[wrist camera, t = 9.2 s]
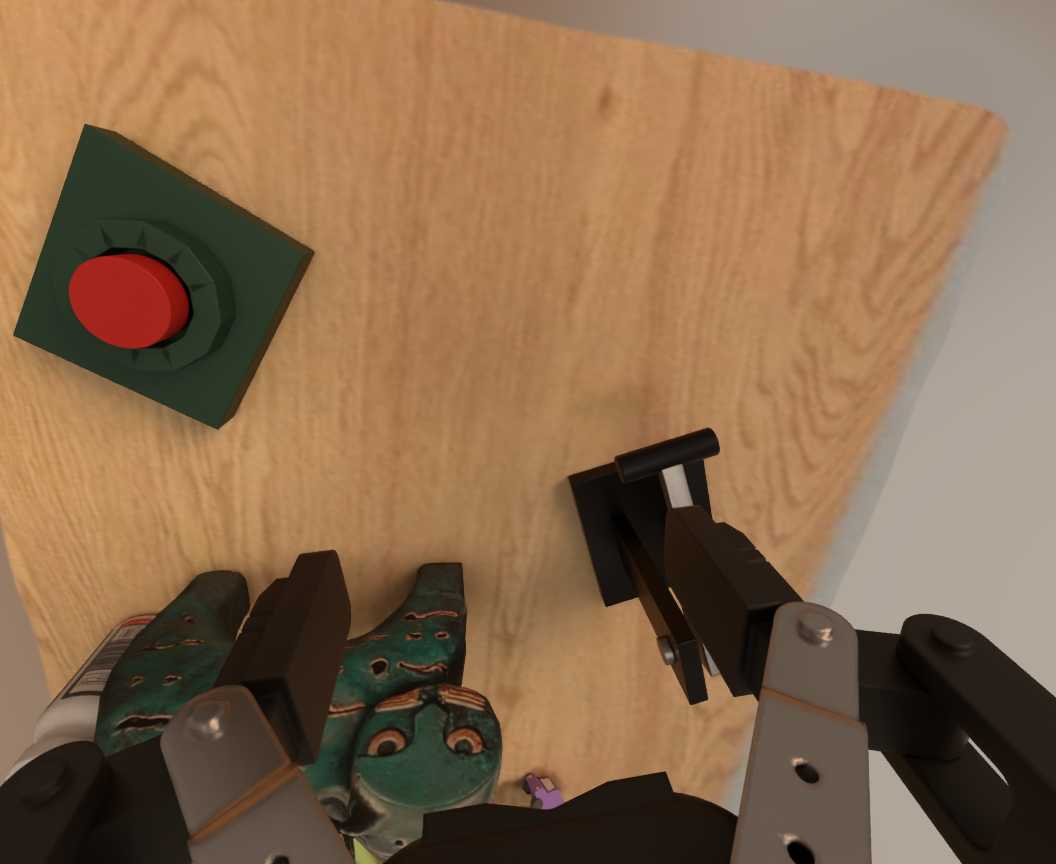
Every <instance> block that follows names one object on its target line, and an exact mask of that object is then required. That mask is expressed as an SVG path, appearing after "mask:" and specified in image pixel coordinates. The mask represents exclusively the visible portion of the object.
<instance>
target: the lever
mask: <svg viewBox="0 0 1056 864" xmlns="http://www.w3.org/2000/svg"><path fill="white" fill-rule="evenodd" d="M719 452H720V447H719V442H718V439H717V436H716V434H715V433H714V431H713V430H712V429H711V428H705V429H702V430H698V431H695V432H692V433H689V434H686V435H682V436H679V437H676V438H673V439H670V440H666V441H663V442H660V443H657V444H654V445H650V446H647V447H644V448H641V449H637V450H634V451H631V452H628V453H625V454H621V455H618V456H616V457H615V458H614V461H615V466H616V470H617V473H618V475H619V478H620V480H621V481H622V483H624V484H625V483H629V482H632V481H635V480H638V479H641V478H645V477H648V476H651V475H654V474H658V476H659V479H660V483H661V487H662V490H663V494H664V497H665V501H666V504H667V508H668V509H670V508H677V507H685V506H693V502H692V498H691V495H690V491H689V487H688V484H687V480H686V476H685V473H684V469H683V465H686V464H690V463H693V462H696V461H699V460H702V459H706V458H709V457H712V456H715V455H718V454H719ZM682 610H683V614H684V617H685V619H686V621H687V622H688V624H689V626H690V627H691V629H692V631H693V633H694V634H695V636H696V638H697V641H698V647H699V652H700V657H701V662H702V664H703V665H704V667H705V668H706V670H707V671H708V673H709V674H710V676H711V677H713V676H716V675H720V672H719V670H718V669H717V667H716V665H715V663H714V662H713V660H712V658H711V656H710V655H709V653H708V651H707V649H706V648H705V646H704V644H703V642H702V641H701V639H700V637H699V635H698V634H697V632H696V630H695V629H694V627H693V625H692V623H691V622H690V620H689V618H688V616H687V615H686V613H685V611H684V609H683V608H682Z"/></svg>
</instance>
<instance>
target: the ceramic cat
mask: <svg viewBox="0 0 1056 864" xmlns="http://www.w3.org/2000/svg"><path fill="white" fill-rule="evenodd" d="M249 609H250V598H249V593H248V587H247V582H246V579H245V578H244V577H243V576H242V575H241V574H240V573H239V572H232V571H213V572H207V573H203V574H200V575H198V576H197V577H196V578H195V579H194V580H193V581H192V582H191V583H190V584H189V585H188V586H187V587H186V588H185V590H184V591H183V592H182V593H181V594H180V595H179V596H178V597H177V598H176V599H175V600H174V601H172V602H171V603H170V604H169V605H168V606H167V607H166V608H165V609H163V610H162V611H161V612H160V613H159V614H158V615H157V616H156V617H155V618H154V619H153V620H152V621H151V622H150V623H149V624H148V625H147V626H146V627H145V628H143V629H142V630H141V631H140V632H139V633H138V634H137V635H136V636H135V638H134V639H133V640H132V642H131V643H130V645H129V646H128V648H127V649H126V650H125V652H124V653H123V654H122V656H121V657H120V659H119V660H118V661H117V663H116V664H115V666H114V667H113V669H112V670H111V672H110V674H109V677H108V679H107V681H106V684H105V686H104V688H103V691H102V693H101V695H100V698H99V707H98V715H97V721H96V728H95V734H94V739H93V742H94V743H96V744H97V745H98V746H99V747H100V748H101V750H102V752H103V753H104V755H105V757H106V756H109V755H111V754H114V753H116V752H119V751H121V750H124V749H126V748H129V747H131V746H134V745H136V744H139V743H141V742H144V741H146V740H149V739H151V738H154V737H156V736H158V735H160V734H162V733H163V730H164V728H165V727H166V725H167V723H168V722H169V720H170V719H171V718H172V717H173V715H174V714H175V713H176V712H177V711H178V710H179V709H180V708H181V707H182V706H184V705H185V704H186V703H187V702H189V701H190V700H192V699H193V698H195V697H196V696H198V695H200V694H202V693H204V692H205V691H208V690H210V689H211V688H212V686H213V685H214V683H215V681H216V679H217V677H218V675H219V673H220V671H221V669H222V667H223V665H224V663H225V661H226V659H227V657H228V655H229V653H230V652H231V650H232V648H233V646H234V644H235V642H236V636H237V633H238V630H239V628H240V626H241V624H242V622H243V620H244V618H245V616H246V614H247V613H248V611H249ZM466 619H467V607H466V603H465V597H464V585H463V571H462V563H430V564H425V565H423V566H422V567H421V568H420V570H419V571H418V575H417V579H416V582H415V585H414V587H413V589H412V590H411V592H410V594H409V596H408V597H407V599H406V600H405V601H404V603H403V604H402V605H401V606H400V607H399V608H398V609H397V610H396V611H394V612H393V613H392V614H391V615H390V616H389V617H388V618H387V619H386V620H385V621H383V622H382V623H381V624H380V625H379V626H377V627H376V628H375V629H373V630H372V631H370V632H369V633H367V634H365V635H363V636H360V637H357V638H354V639H351V640H347V642H346V646H345V650H344V654H343V658H342V662H341V666H340V670H339V674H338V677H337V681H336V685H335V689H334V693H333V697H332V701H331V705H330V709H329V713H328V717H327V721H326V724H325V728H324V732H323V736H322V740H321V744H320V748H319V752H318V756H317V760H316V764H310V765H304V766H299V767H300V769H301V770H302V772H303V774H304V775H305V777H306V779H307V781H308V782H309V784H310V786H311V787H312V789H313V791H314V792H315V794H316V796H317V798H318V799H319V801H320V803H321V804H322V806H323V808H324V810H325V811H326V813H327V815H328V816H329V818H330V820H331V822H332V823H333V825H334V827H335V828H336V830H337V832H338V833H339V834H342V836H343V838H344V841H345V845H346V847H347V849H348V851H349V852H350V854H351V856H352V857H353V859H354V861H355V848H354V841H353V839H354V838H355V839H356V840H357V841H358V842H359V843H360V844H361V845H362V846H363V847H364V848H365V849H366V850H367V851H368V852H369V853H371V854H372V855H373V856H374V857H376V858H377V859H378V860H380V861H382V862H385V861H386V860H387V859H389V858H390V857H391V856H392V855H394V854H395V853H396V852H397V851H399V850H400V849H402V848H403V847H405V846H407V845H408V844H410V843H411V842H413V841H415V840H417V839H419V838H421V837H422V829H423V814H425V813H431V812H437V811H443V810H448V809H454V808H460V807H465V806H471V805H477V804H482V803H489V804H492V803H493V800H494V796H495V792H496V788H497V784H498V779H499V774H500V769H501V760H502V737H501V729H500V723H499V721H498V719H497V717H496V715H495V713H494V711H493V709H492V707H491V705H490V702H489V701H488V700H487V698H486V697H485V696H483V695H481V694H480V693H478V692H476V691H474V690H471V689H468V688H464V687H461V685H462V678H463V671H464V664H465V656H466V640H465V635H466Z"/></svg>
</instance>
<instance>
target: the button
mask: <svg viewBox="0 0 1056 864" xmlns="http://www.w3.org/2000/svg"><path fill="white" fill-rule="evenodd" d="M69 297H70V302H71V305H72V308H73V310H74V312H75V314H76V316H77V317H78V319H79V320H80V322H81V323H82V324H83V325H84V326H85V327H86V329H87V330H88V331H90V332H91V333H92V334H93V335H95V336H96V337H98V338H99V339H101V340H103V341H105V342H107V343H109V344H111V345H114V346H118V347H122V348H129V349H139V348H145V347H148V346H151V345H153V344H156V343H158V342H161V341H163V340H165V339H168V338H170V337H172V336H174V335H175V334H177V333H178V332H179V331H180V330H181V329H182V328H183V326H184V325H185V323H186V321H187V318H188V313H189V303H188V298H187V294H186V292H185V289H184V287H183V285H182V284H181V282H180V281H179V279H178V278H177V277H176V276H175V275H174V273H173V272H171V271H170V270H169V269H168V268H167V267H165V266H164V265H163V264H161V263H160V262H158V261H156V260H154V259H152V258H149V257H146V256H143V255H138V254H120V255H110V256H101V257H96V258H93V259H90V260H88V261H86V262H84V263H83V264H81V265H80V266H79V267H78V268H77V269H76V271H75V272H74V274H73V276H72V278H71V281H70V284H69Z"/></svg>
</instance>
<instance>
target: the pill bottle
mask: <svg viewBox="0 0 1056 864" xmlns="http://www.w3.org/2000/svg"><path fill="white" fill-rule="evenodd" d="M155 617H156V616H155V615H145V616H138V617H134V618H131V619H128V620H126V621H124V622H122V623H120V624H119V625H118V626H116V627H115V628H114V629H113V630H112V631H111V632H110V633H109V634H108V635H107V637H106V638H105V639H104V640H103V642H102V643H101V644H100V645H99V646H98V648H97V649H96V650H95V651H94V652H93V654H92V655H91V656H90V657H89V658H88V660H87V661H86V662H85V663H84V664H83V666H82V667H81V668H80V669H79V670H78V672H77V673H76V674H75V675H74V676H73V678H72V679H71V680H70V681H69V682H68V684H67V685H66V686H65V687H64V688H63V690H62V691H61V692H60V693H59V694H58V695H57V697H56V698H55V699H54V700H53V701H52V703H51V704H50V705H49V706H48V707H47V709H46V710H45V711H44V712H43V714H42V715H41V716H40V718H39V719H38V721H37V723H36V725H35V727H34V730H33V735H32V743H33V745H31V746H30V747H29V748H27V749H26V751H25V752H24V753H23V754H22V756H21V757H20V758H19V759H18V760H17V762H16V763H15V764H14V765H13V767H12V768H11V769H10V770H9V772H8V774H7V776H6V780H7V779H8V778H10V777H11V776H12V775H13V774H14V773H15V772H16V771H18V770H19V769H20V768H21V767H23V766H24V765H25V764H27V763H28V762H30V761H31V760H33V759H34V758H36V757H38V756H39V755H41V754H43V753H45V752H47V751H49V750H51V749H53V748H55V747H58V746H60V745H63V744H66V743H70V742H74V741H91V742H93V739H94V734H95V728H96V721H97V715H98V707H99V698H100V695H101V693H102V691H103V688H104V686H105V684H106V681H107V679H108V677H109V674H110V672H111V670H112V669H113V667H114V666H115V664H116V663H117V661H118V660H119V659H120V657H121V656H122V654H123V653H124V652H125V650H126V649H127V648H128V646H129V645H130V643H131V642H132V640H133V639H134V638H135V636H136V635H137V634H138V633H139V632H140V631H141V630H142V629H143V628H145V627H146V626H147V625H148V624H149V623H150V622H151V621H152V620H153V619H154V618H155ZM6 780H5V781H6Z"/></svg>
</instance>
